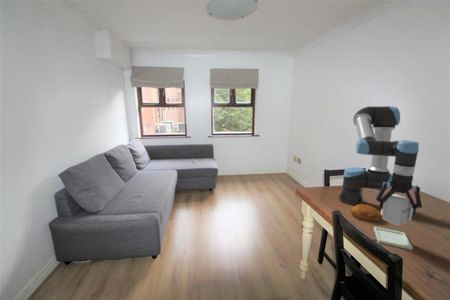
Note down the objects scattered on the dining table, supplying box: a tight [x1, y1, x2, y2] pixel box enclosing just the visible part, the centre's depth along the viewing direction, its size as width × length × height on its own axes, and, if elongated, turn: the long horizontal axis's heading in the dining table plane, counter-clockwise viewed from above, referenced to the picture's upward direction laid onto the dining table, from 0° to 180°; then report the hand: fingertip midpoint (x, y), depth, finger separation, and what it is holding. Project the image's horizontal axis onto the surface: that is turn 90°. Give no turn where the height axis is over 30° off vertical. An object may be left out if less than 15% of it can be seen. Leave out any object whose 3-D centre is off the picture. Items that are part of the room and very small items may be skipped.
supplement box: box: [382, 193, 412, 227], centre depth 105 cm, size 7×7×13 cm
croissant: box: [350, 203, 383, 222], centre depth 129 cm, size 14×16×8 cm
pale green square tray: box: [373, 226, 413, 251], centre depth 108 cm, size 13×13×1 cm
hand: (395, 216), depth 106 cm, fingers closed on supplement box, 10 cm apart
